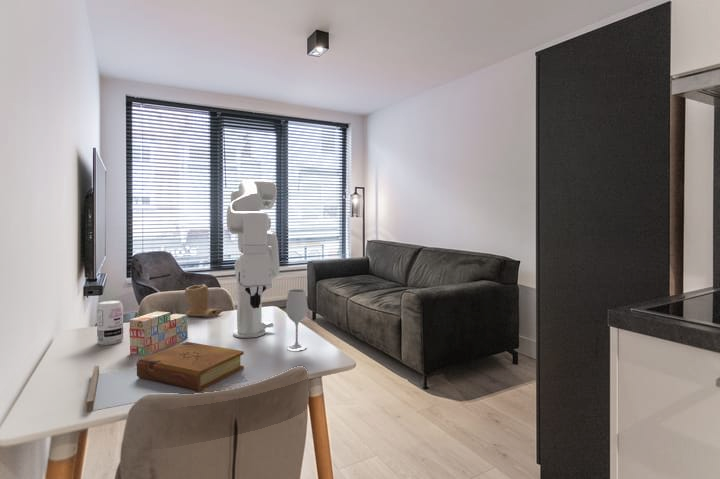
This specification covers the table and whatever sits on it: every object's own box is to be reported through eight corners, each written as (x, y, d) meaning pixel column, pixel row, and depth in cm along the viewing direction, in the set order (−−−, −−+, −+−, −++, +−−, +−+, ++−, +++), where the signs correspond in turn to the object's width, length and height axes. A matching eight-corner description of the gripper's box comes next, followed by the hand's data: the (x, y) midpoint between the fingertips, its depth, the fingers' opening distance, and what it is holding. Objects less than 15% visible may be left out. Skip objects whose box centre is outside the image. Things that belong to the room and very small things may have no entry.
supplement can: (105, 338, 152) (104, 300, 151) (127, 338, 152) (126, 300, 152) (92, 345, 144) (91, 304, 143) (116, 345, 144) (115, 304, 143)
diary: (136, 379, 114) (136, 359, 114) (187, 358, 132) (187, 341, 131) (198, 392, 106) (197, 371, 105) (243, 368, 123) (243, 350, 123)
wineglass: (299, 343, 148) (299, 288, 147) (311, 348, 143) (311, 290, 142) (281, 348, 143) (281, 290, 142) (294, 353, 138) (294, 293, 137)
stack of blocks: (174, 336, 156) (174, 305, 155) (188, 338, 154) (187, 306, 153) (129, 354, 135) (129, 318, 135) (144, 356, 134) (144, 320, 133)
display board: (227, 354, 137) (227, 346, 136) (247, 381, 114) (247, 371, 114) (94, 375, 117) (94, 366, 117) (87, 412, 95) (86, 401, 95)
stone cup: (179, 317, 185) (179, 285, 185) (197, 312, 197) (197, 282, 196) (206, 320, 181) (205, 288, 180) (222, 314, 192) (222, 284, 191)
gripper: (274, 249, 134) (274, 303, 134) (228, 250, 126) (228, 307, 127) (281, 250, 127) (281, 307, 128) (234, 251, 120) (234, 312, 120)
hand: (255, 307), depth 127 cm, fingers closed
